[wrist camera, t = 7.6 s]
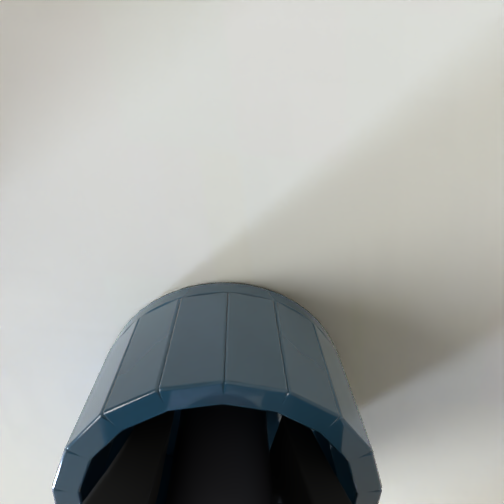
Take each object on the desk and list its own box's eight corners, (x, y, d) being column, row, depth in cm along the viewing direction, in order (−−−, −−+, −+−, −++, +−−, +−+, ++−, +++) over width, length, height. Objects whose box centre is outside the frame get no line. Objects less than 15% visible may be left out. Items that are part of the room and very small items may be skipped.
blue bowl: (304, 474, 14) (327, 609, 11) (98, 447, 14) (47, 585, 10) (372, 307, 12) (434, 414, 8) (118, 259, 11) (56, 356, 7)
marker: (255, 430, 13) (267, 673, 8) (176, 420, 12) (133, 664, 7) (274, 369, 12) (303, 600, 7) (189, 356, 11) (151, 586, 6)
